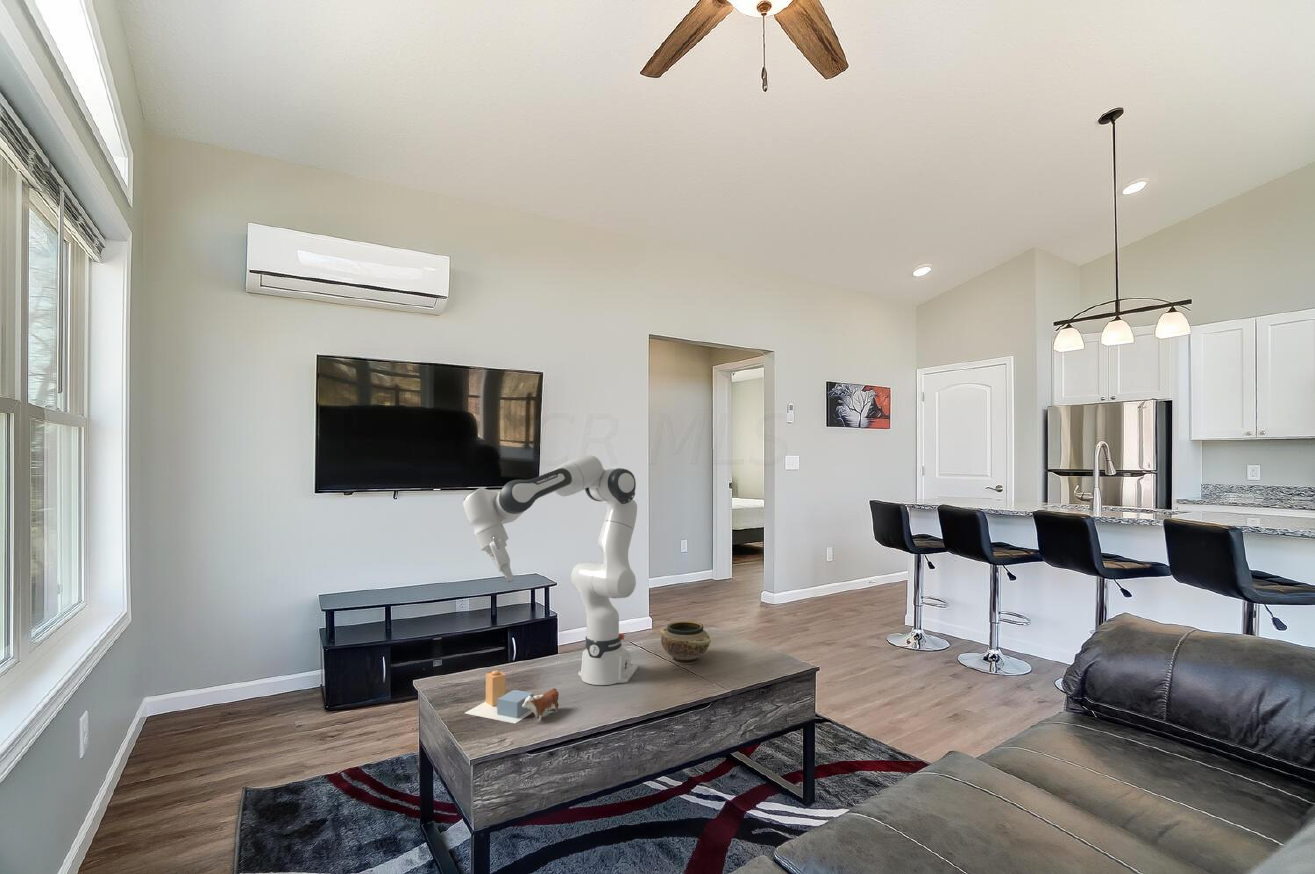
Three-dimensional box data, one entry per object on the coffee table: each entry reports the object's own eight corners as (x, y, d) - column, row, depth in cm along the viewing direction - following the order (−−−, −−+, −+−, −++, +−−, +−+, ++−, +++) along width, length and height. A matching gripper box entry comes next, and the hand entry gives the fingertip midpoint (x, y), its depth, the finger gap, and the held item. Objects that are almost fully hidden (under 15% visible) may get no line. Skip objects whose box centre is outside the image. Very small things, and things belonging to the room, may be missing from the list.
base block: (513, 704, 193) (513, 689, 193) (533, 708, 190) (533, 693, 190) (497, 714, 186) (497, 698, 186) (517, 718, 183) (517, 702, 183)
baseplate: (500, 696, 202) (500, 693, 202) (548, 705, 195) (548, 701, 195) (464, 716, 187) (464, 713, 187) (515, 727, 179) (515, 723, 179)
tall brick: (485, 702, 195) (485, 671, 195) (498, 698, 198) (498, 668, 198) (492, 706, 191) (492, 675, 192) (505, 702, 194) (505, 671, 194)
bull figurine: (519, 725, 180) (519, 696, 180) (552, 710, 191) (552, 682, 192) (530, 729, 178) (530, 700, 178) (563, 713, 189) (563, 685, 189)
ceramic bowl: (652, 662, 243) (644, 625, 242) (688, 642, 253) (680, 607, 251) (691, 681, 223) (683, 641, 221) (729, 659, 233) (721, 620, 231)
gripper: (502, 529, 186) (521, 573, 183) (502, 539, 205) (520, 579, 202) (481, 538, 184) (500, 582, 181) (484, 548, 203) (501, 588, 200)
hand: (511, 581), depth 192 cm, fingers open, 8 cm apart
